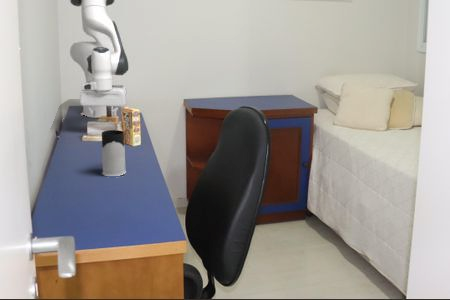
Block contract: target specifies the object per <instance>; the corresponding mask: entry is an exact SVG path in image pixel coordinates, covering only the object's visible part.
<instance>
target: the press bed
mask: <svg viewBox="0 0 450 300" xmlns="http://www.w3.org/2000/svg"><path fill="white" fill-rule="evenodd" d="M86 125H87V126H86V127H87V128H86V129H87V131H86V133H84V135H83V136H82V137H81V141H82V142H102V132H104V131H108V130H119V131H122V125H121V121H119V123H118V124H117V129H116V122H97V121H87V123H86Z"/></svg>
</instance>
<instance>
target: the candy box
mask: <svg viewBox="0 0 450 300" xmlns="http://www.w3.org/2000/svg"><path fill="white" fill-rule="evenodd" d="M140 114H141V112H140V109H138V108H134V107H130V106H127V107H125V106H124V107H120V119H121V120H120V122H121V125H122V131H123V132H124V144H126V145H129V146H132V147H136V146H141V145H142V144H141V143H142V142H141V141H142V139H141V138H142V137H141V117H140V116H141V115H140Z"/></svg>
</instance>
